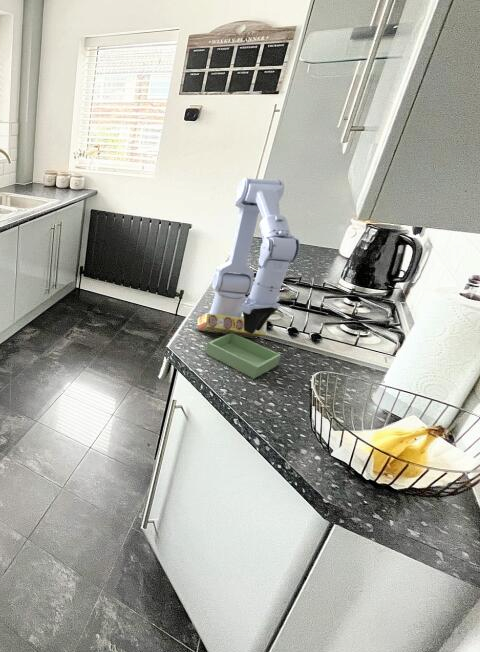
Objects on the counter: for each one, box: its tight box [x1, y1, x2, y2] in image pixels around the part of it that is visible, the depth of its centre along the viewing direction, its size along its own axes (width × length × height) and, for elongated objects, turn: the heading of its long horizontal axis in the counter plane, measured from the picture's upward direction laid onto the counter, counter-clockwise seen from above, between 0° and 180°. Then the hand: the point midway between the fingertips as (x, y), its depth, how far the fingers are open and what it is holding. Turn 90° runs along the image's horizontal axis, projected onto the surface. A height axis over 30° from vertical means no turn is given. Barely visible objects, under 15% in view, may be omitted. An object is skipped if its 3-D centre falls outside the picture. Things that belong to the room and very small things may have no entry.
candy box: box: [197, 313, 268, 339], centre depth 123 cm, size 9×4×15 cm
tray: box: [204, 332, 282, 379], centre depth 114 cm, size 11×13×4 cm
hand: (251, 330), depth 111 cm, fingers closed
